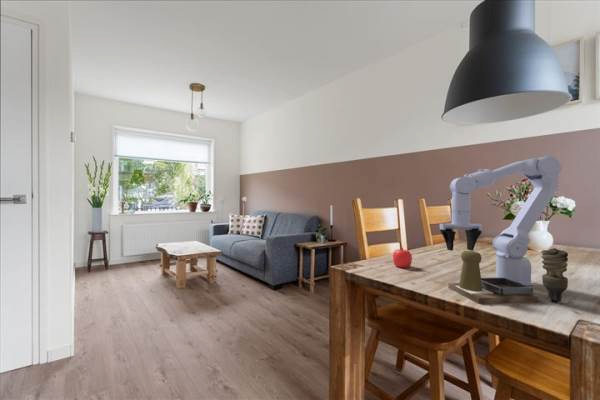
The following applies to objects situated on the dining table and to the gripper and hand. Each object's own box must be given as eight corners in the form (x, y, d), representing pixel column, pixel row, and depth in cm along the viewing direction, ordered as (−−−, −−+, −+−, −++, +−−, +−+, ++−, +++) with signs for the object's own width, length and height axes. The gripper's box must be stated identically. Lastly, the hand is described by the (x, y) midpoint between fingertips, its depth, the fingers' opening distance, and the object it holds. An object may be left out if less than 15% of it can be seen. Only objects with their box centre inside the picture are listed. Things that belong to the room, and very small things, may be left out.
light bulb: (539, 301, 77) (540, 247, 77) (541, 296, 81) (542, 245, 81) (567, 307, 73) (568, 250, 73) (567, 302, 77) (569, 248, 77)
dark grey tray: (503, 283, 89) (503, 277, 89) (534, 294, 78) (534, 287, 78) (473, 284, 88) (473, 277, 87) (500, 295, 77) (500, 288, 77)
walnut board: (500, 286, 90) (500, 282, 90) (538, 301, 77) (538, 296, 77) (448, 287, 88) (448, 283, 88) (478, 303, 75) (478, 298, 75)
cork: (462, 290, 81) (463, 252, 81) (456, 283, 87) (457, 249, 87) (485, 292, 79) (486, 253, 79) (478, 285, 85) (478, 250, 85)
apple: (416, 268, 112) (416, 249, 112) (397, 269, 111) (398, 249, 111) (405, 264, 120) (406, 245, 120) (388, 264, 119) (388, 245, 118)
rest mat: (476, 285, 86) (476, 285, 86) (493, 293, 79) (493, 292, 79) (455, 286, 85) (455, 285, 85) (471, 294, 78) (471, 293, 78)
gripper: (472, 211, 102) (471, 247, 102) (434, 210, 101) (434, 248, 101) (486, 212, 95) (485, 251, 95) (447, 211, 94) (446, 251, 94)
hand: (460, 250), depth 97 cm, fingers open, 7 cm apart
